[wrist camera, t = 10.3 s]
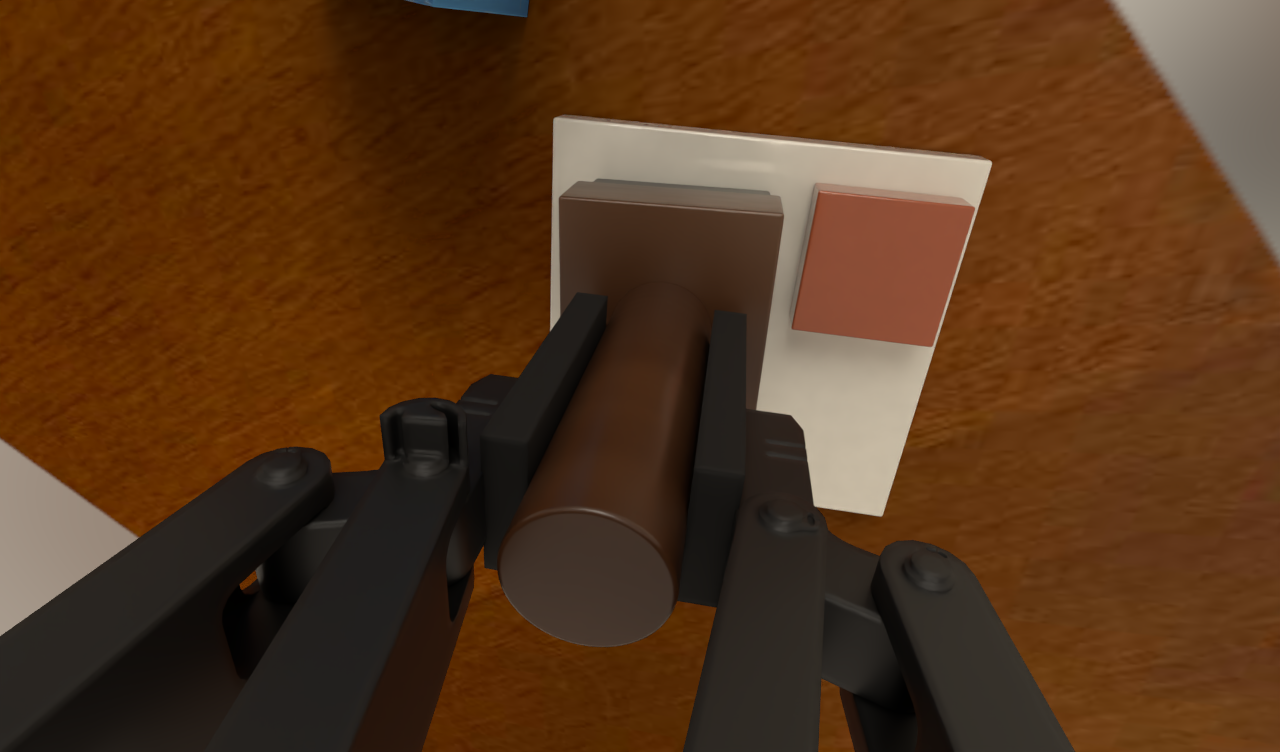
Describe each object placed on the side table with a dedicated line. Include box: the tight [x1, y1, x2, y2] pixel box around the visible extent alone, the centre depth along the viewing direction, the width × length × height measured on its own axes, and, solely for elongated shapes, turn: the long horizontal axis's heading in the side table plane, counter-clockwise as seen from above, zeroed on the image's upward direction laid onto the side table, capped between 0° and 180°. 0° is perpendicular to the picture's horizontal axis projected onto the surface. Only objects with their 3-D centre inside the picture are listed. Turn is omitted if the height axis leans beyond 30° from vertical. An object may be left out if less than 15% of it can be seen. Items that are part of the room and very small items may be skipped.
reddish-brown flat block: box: [789, 183, 975, 347], centre depth 19 cm, size 4×4×1 cm
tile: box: [550, 114, 992, 516], centre depth 21 cm, size 12×12×1 cm
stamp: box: [497, 178, 784, 647], centre depth 15 cm, size 6×5×12 cm
